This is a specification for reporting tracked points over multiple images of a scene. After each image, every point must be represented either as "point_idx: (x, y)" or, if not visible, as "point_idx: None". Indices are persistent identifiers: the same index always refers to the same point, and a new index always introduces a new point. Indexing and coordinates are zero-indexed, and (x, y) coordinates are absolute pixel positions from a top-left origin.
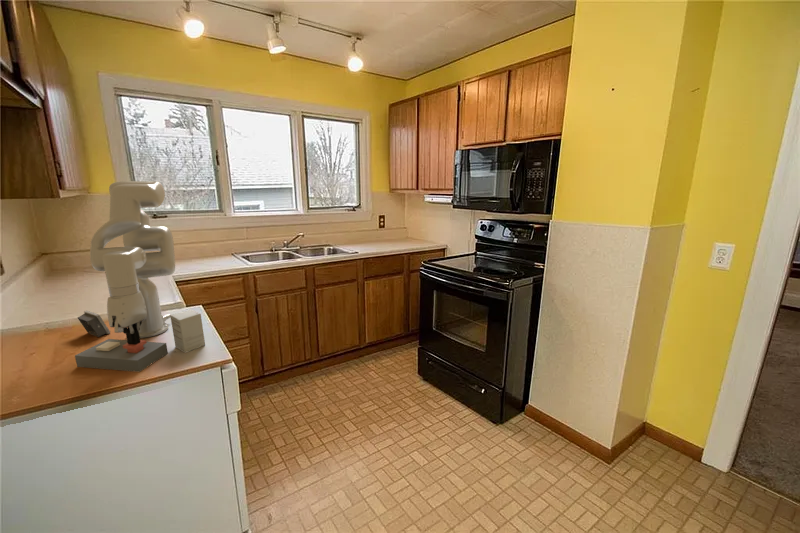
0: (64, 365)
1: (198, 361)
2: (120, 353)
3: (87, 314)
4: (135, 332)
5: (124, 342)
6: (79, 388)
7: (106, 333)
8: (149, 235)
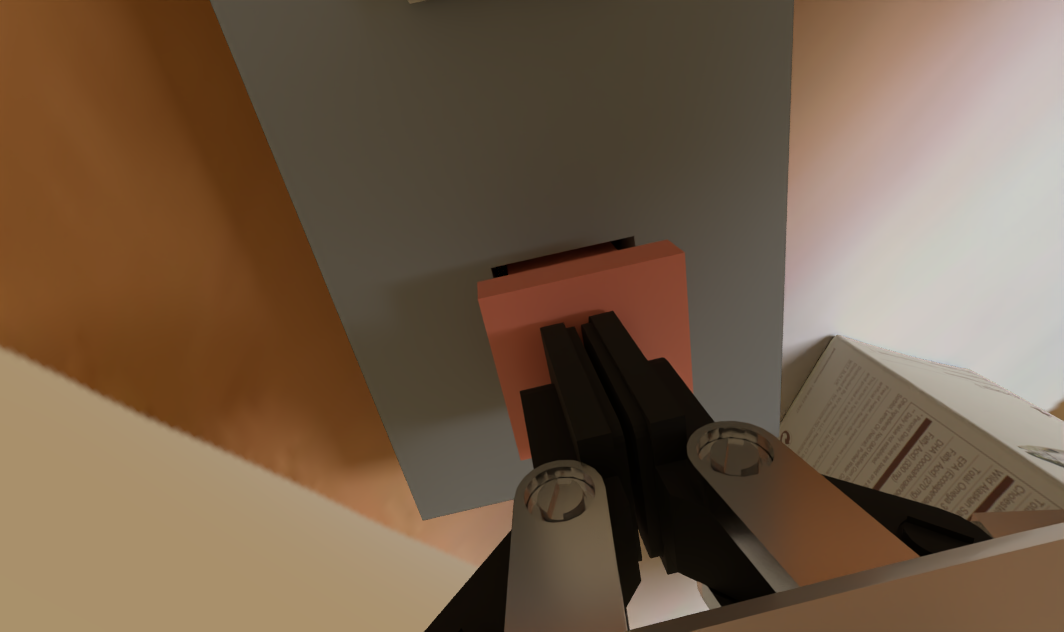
0: None
1: (664, 608)
2: (447, 234)
3: None
4: (651, 549)
5: None
6: (16, 269)
7: None
8: None
